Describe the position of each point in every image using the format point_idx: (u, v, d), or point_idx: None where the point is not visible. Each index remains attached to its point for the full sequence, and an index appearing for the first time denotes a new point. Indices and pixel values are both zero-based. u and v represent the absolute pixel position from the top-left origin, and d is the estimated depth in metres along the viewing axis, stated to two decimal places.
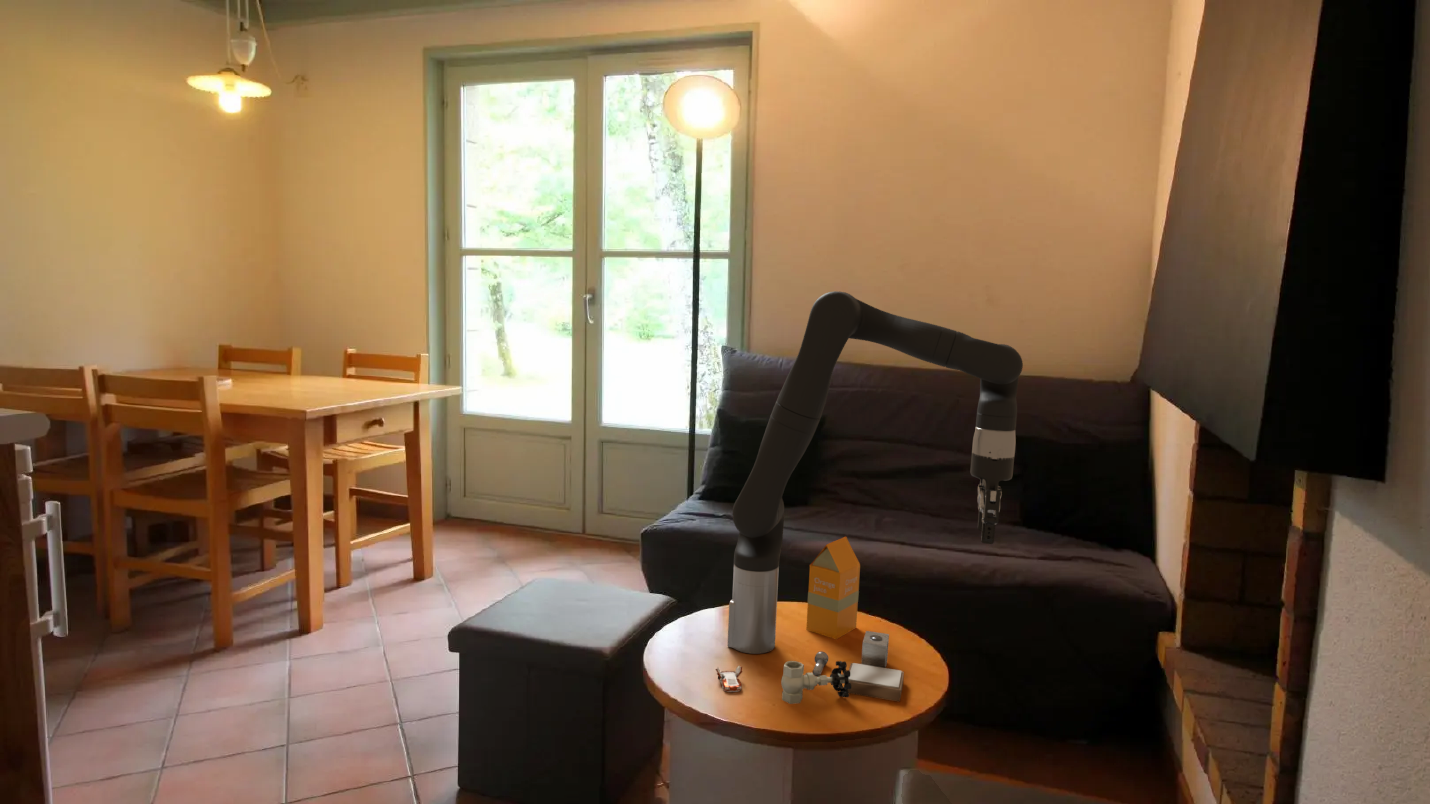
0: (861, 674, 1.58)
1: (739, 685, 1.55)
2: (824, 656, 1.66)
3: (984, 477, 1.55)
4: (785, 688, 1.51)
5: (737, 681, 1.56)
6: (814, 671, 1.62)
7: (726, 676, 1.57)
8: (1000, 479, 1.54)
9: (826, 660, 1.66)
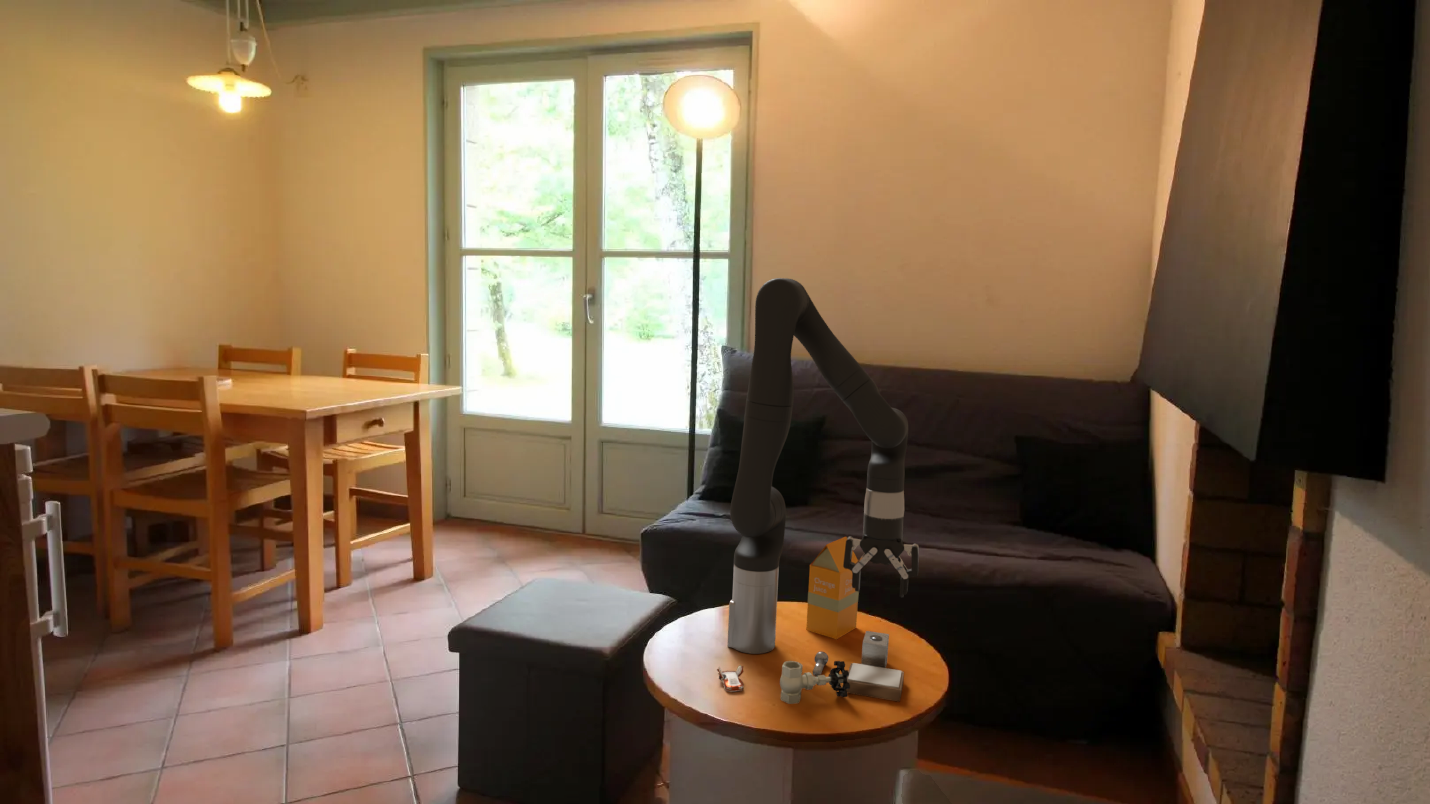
0: (861, 674, 1.58)
1: (741, 685, 1.55)
2: (824, 656, 1.66)
3: (900, 537, 1.61)
4: (784, 688, 1.51)
5: (739, 681, 1.56)
6: (814, 671, 1.62)
7: (727, 676, 1.57)
8: None
9: (826, 660, 1.66)
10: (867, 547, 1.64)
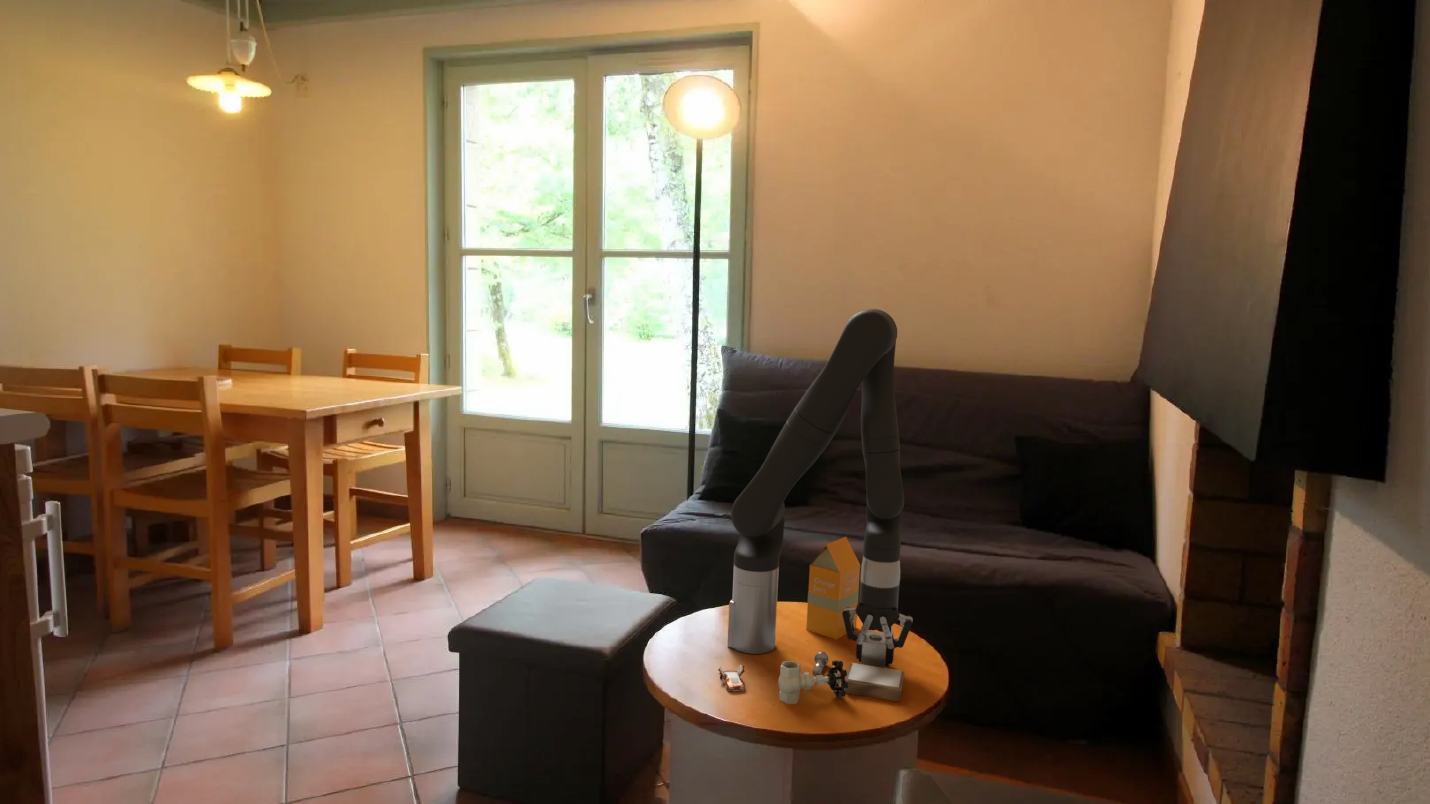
0: (861, 674, 1.58)
1: (742, 684, 1.55)
2: (824, 656, 1.66)
3: (895, 605, 1.63)
4: (782, 688, 1.51)
5: (740, 680, 1.56)
6: (814, 671, 1.62)
7: (729, 676, 1.57)
8: None
9: (826, 660, 1.66)
10: (863, 614, 1.65)
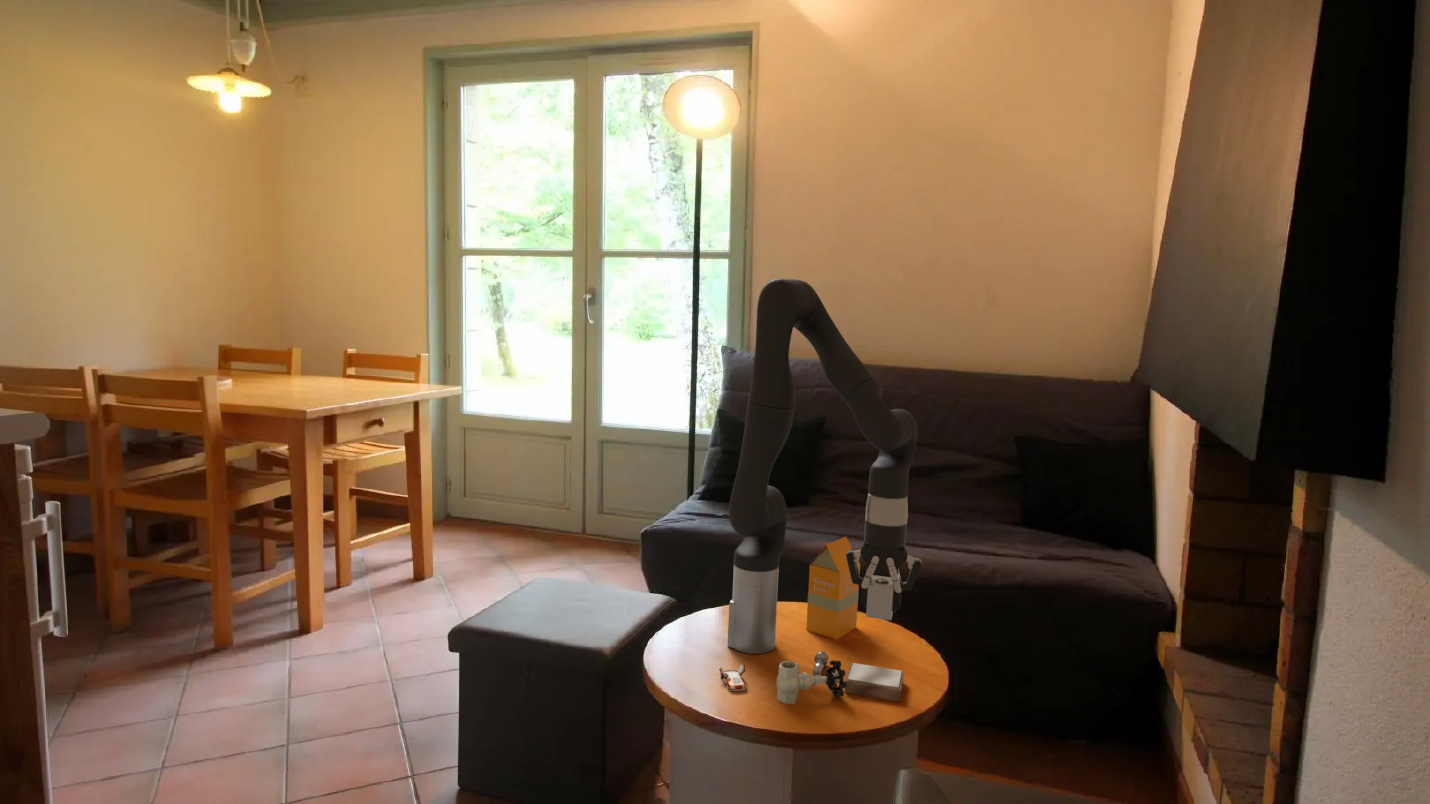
0: (861, 674, 1.58)
1: (744, 684, 1.55)
2: (824, 656, 1.66)
3: (903, 545, 1.53)
4: (780, 688, 1.51)
5: (741, 680, 1.56)
6: (814, 671, 1.62)
7: (730, 675, 1.57)
8: None
9: (826, 660, 1.66)
10: (868, 555, 1.55)
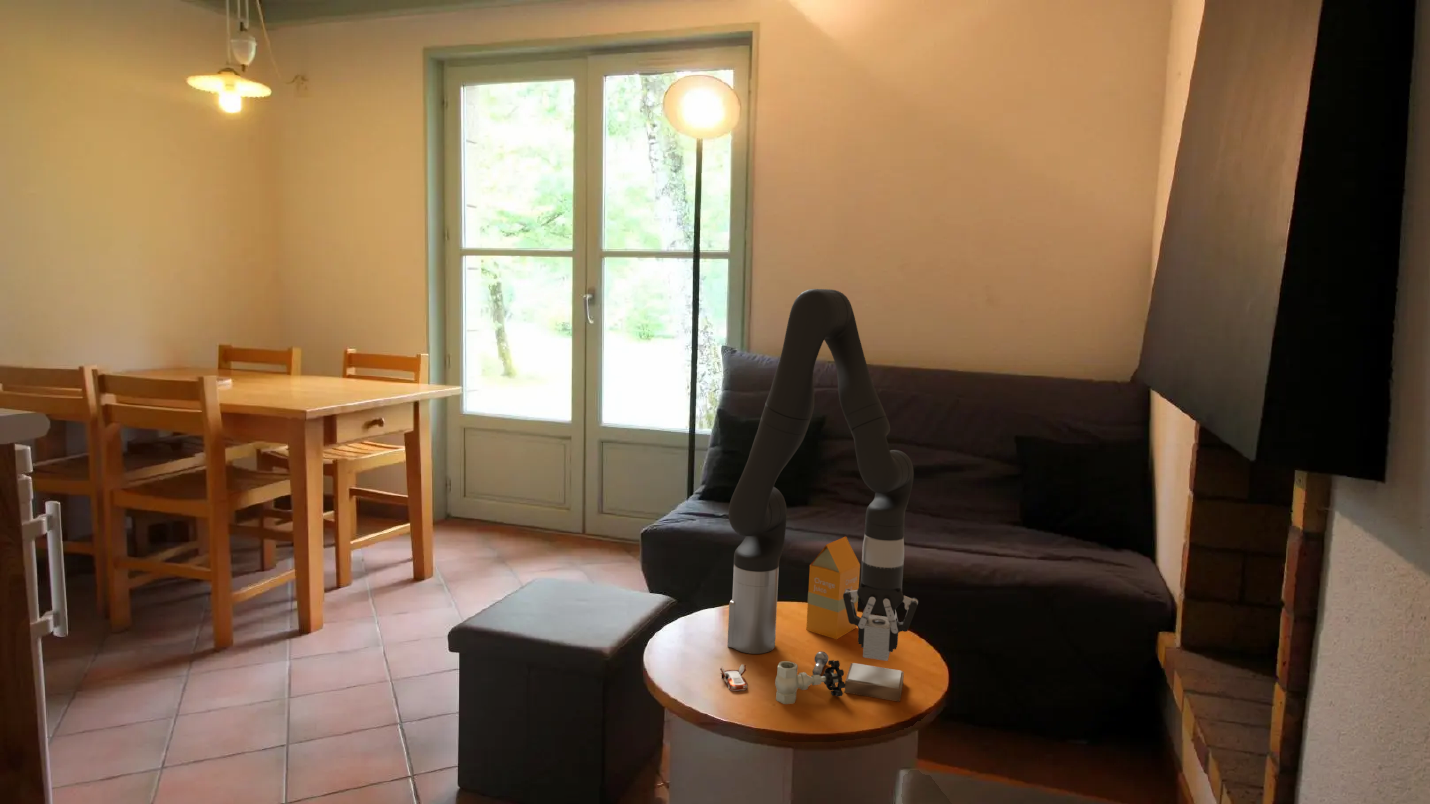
0: (861, 674, 1.58)
1: (745, 684, 1.55)
2: (824, 656, 1.66)
3: (899, 586, 1.53)
4: (779, 688, 1.51)
5: (743, 680, 1.56)
6: (814, 671, 1.62)
7: (731, 675, 1.58)
8: None
9: (826, 660, 1.66)
10: (865, 596, 1.56)
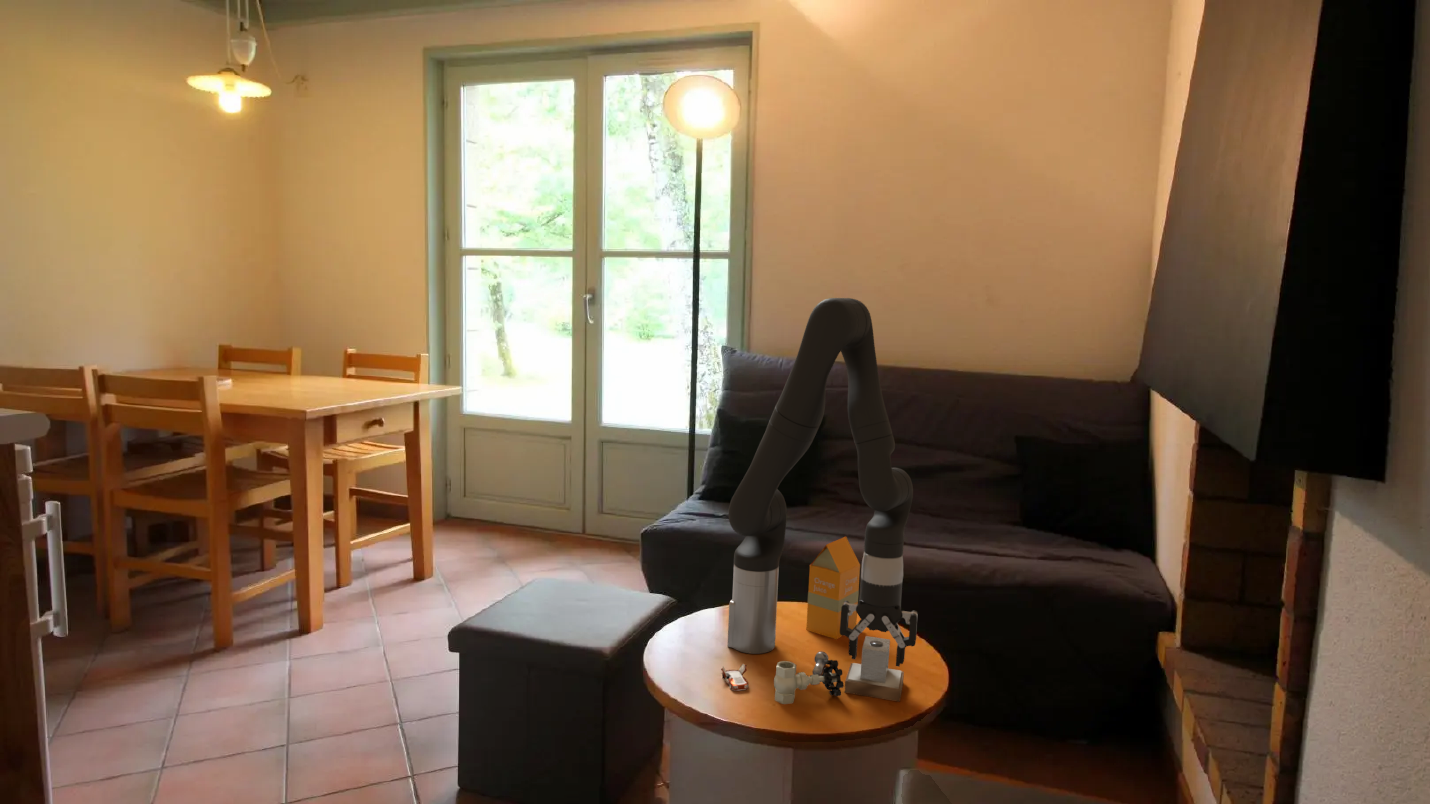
0: None
1: (746, 683, 1.56)
2: (824, 656, 1.66)
3: (898, 603, 1.54)
4: (778, 688, 1.51)
5: (744, 679, 1.57)
6: (814, 671, 1.62)
7: (732, 675, 1.58)
8: None
9: (826, 660, 1.66)
10: (864, 613, 1.56)
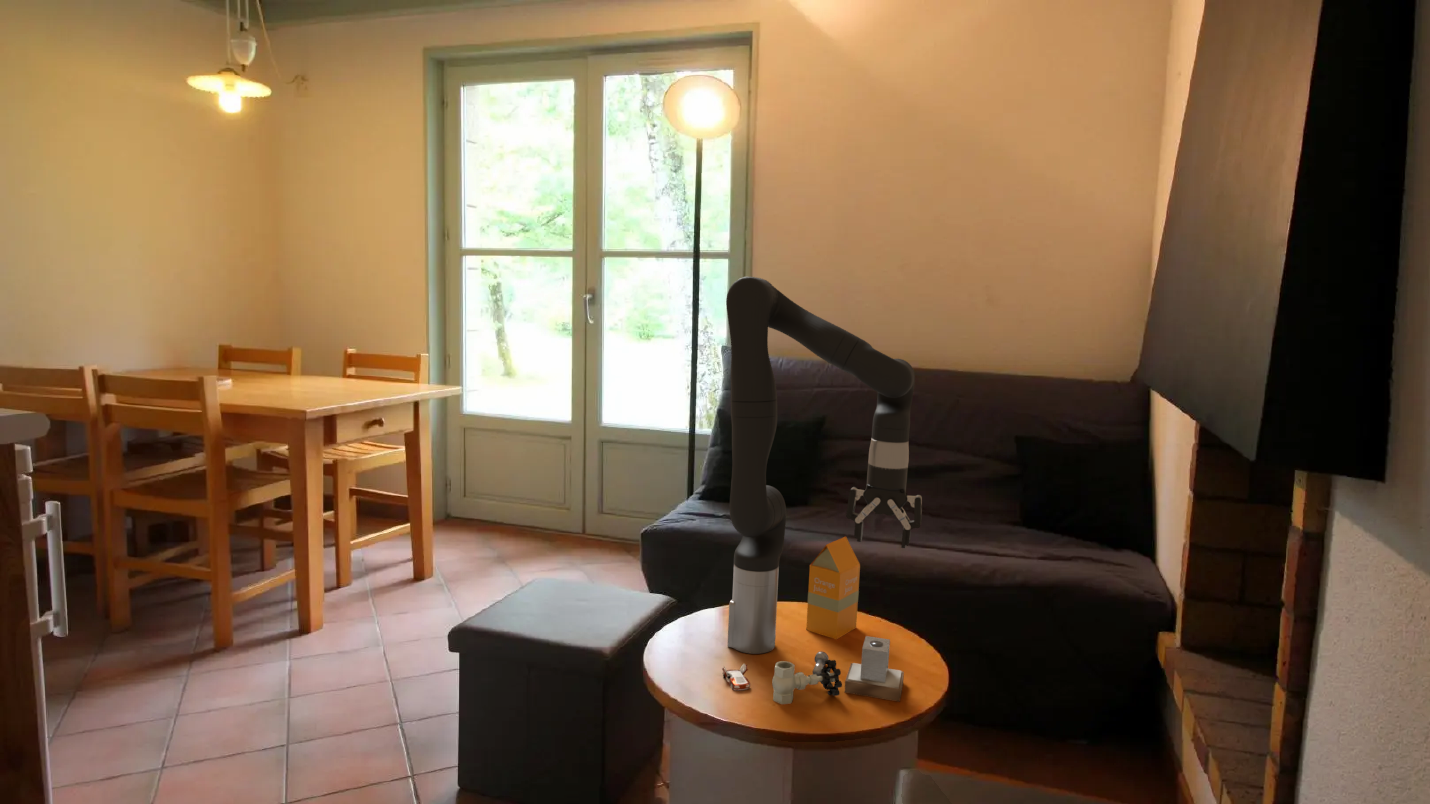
0: None
1: (748, 683, 1.56)
2: (824, 656, 1.66)
3: (903, 487, 1.61)
4: (777, 689, 1.51)
5: (745, 679, 1.57)
6: (814, 671, 1.62)
7: (733, 675, 1.58)
8: None
9: None
10: (870, 497, 1.64)
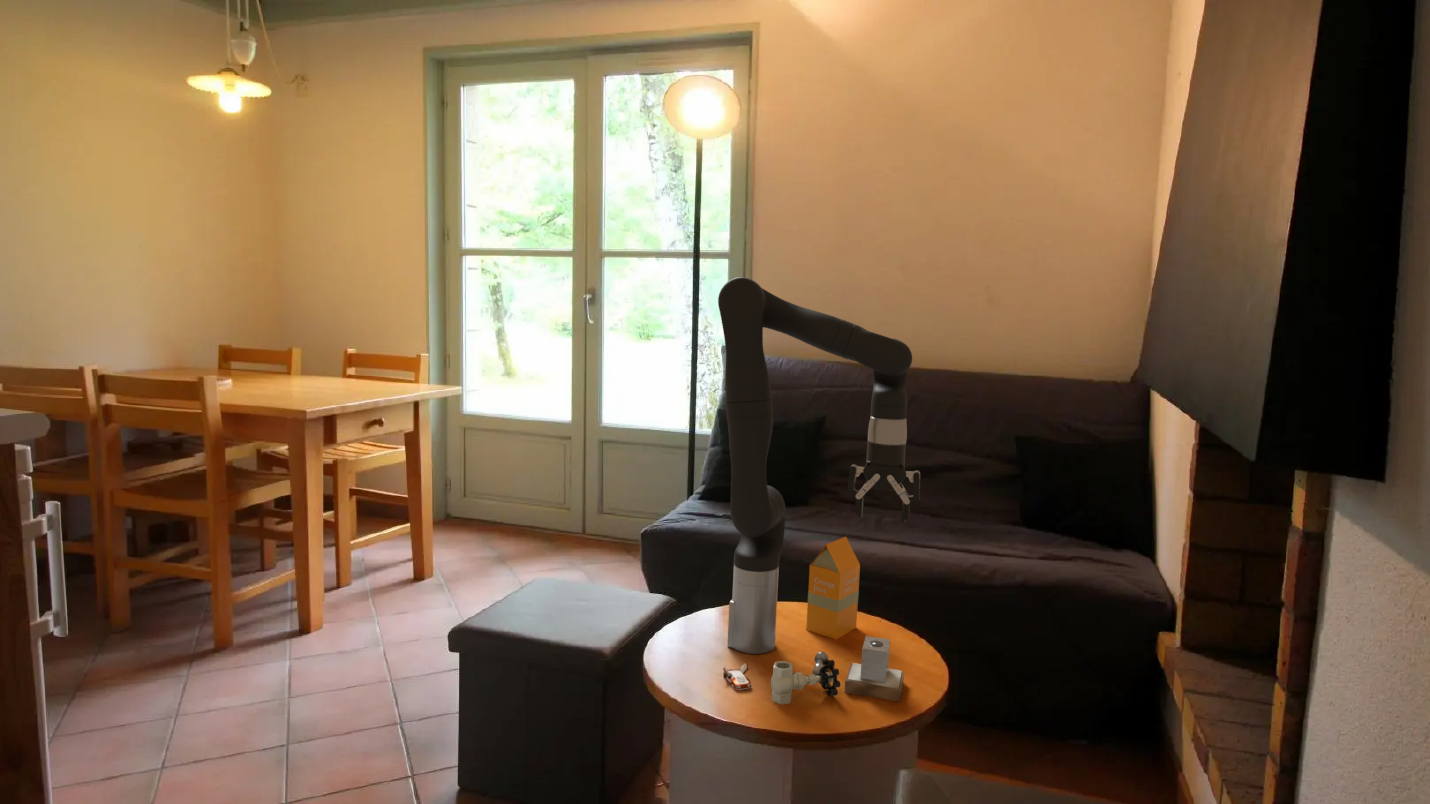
0: None
1: (749, 682, 1.56)
2: (824, 656, 1.66)
3: (902, 463, 1.66)
4: (775, 689, 1.50)
5: (746, 679, 1.57)
6: (814, 671, 1.62)
7: (734, 674, 1.58)
8: None
9: None
10: (870, 474, 1.69)
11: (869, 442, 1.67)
